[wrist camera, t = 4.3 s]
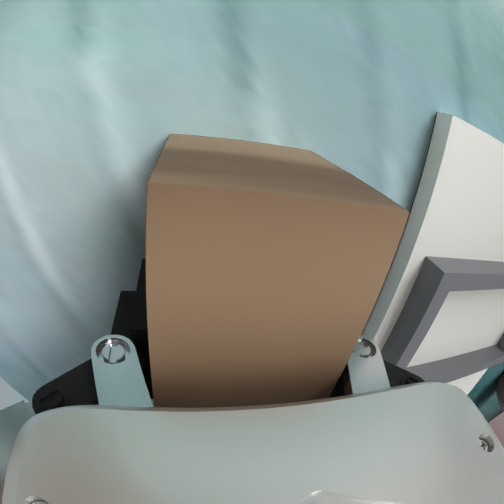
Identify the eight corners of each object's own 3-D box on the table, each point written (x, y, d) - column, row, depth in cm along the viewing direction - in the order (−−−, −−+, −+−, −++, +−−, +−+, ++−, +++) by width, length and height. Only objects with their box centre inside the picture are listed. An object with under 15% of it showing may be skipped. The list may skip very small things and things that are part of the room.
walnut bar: (170, 133, 10) (148, 182, 5) (310, 150, 11) (409, 212, 6) (163, 377, 15) (166, 480, 10) (255, 377, 16) (281, 473, 11)
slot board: (437, 111, 11) (478, 122, 9) (564, 189, 15) (585, 202, 13) (311, 428, 21) (321, 455, 19) (462, 388, 25) (474, 404, 23)
